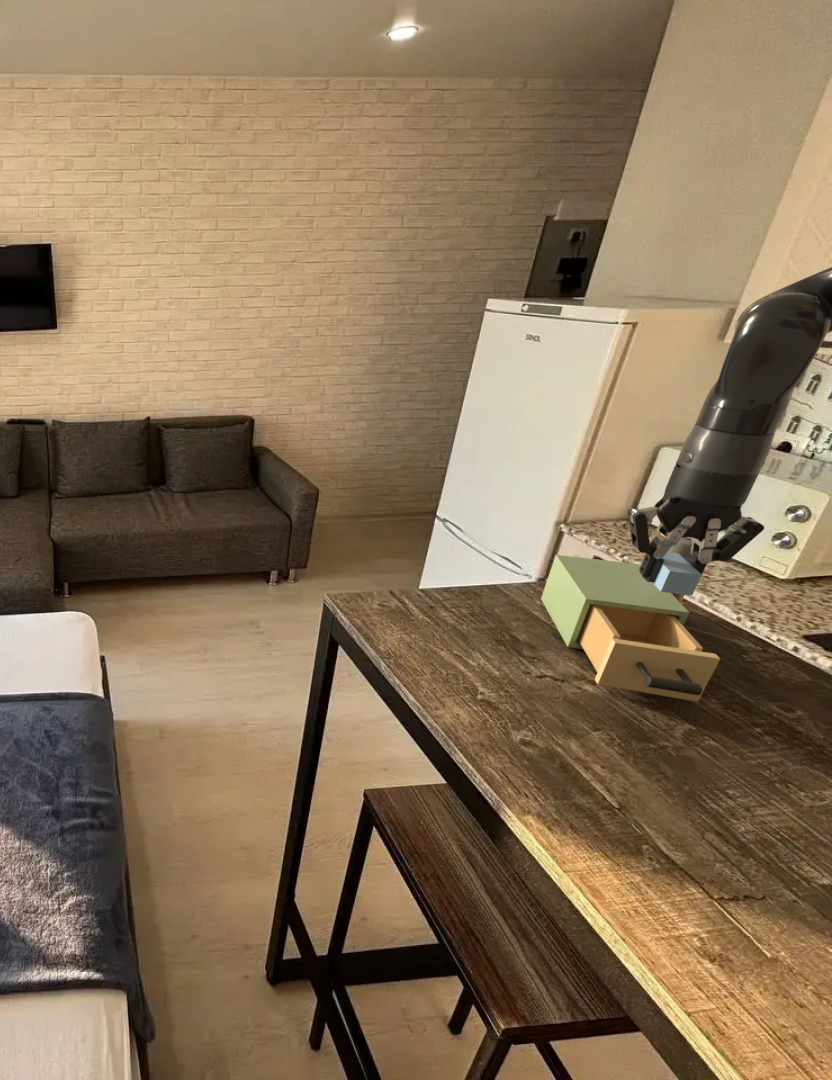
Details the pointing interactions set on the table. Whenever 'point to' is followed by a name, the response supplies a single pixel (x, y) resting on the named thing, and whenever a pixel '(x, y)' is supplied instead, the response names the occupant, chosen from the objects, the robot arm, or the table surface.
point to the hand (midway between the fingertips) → (665, 581)
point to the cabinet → (600, 593)
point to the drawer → (645, 652)
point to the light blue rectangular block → (677, 575)
